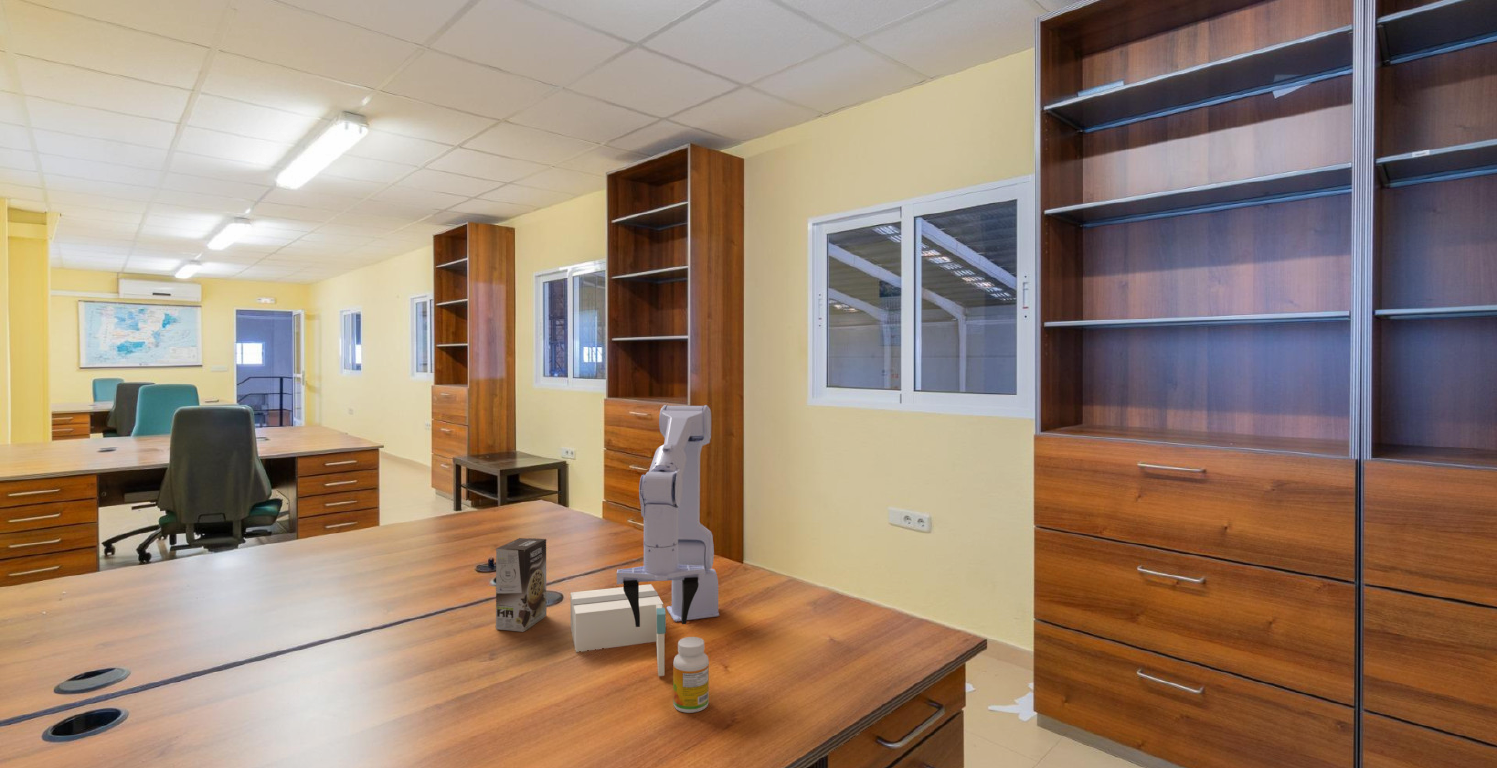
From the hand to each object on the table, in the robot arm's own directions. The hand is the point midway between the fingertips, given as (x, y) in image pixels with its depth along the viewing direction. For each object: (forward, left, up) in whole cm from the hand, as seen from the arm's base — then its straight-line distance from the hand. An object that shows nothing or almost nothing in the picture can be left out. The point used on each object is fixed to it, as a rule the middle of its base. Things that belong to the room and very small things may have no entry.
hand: (660, 623), depth 113 cm
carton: (+5, -19, -8) cm, 21 cm away
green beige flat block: (-1, -5, -8) cm, 10 cm away
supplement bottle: (-2, +12, -9) cm, 15 cm away
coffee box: (+22, -31, -9) cm, 39 cm away
